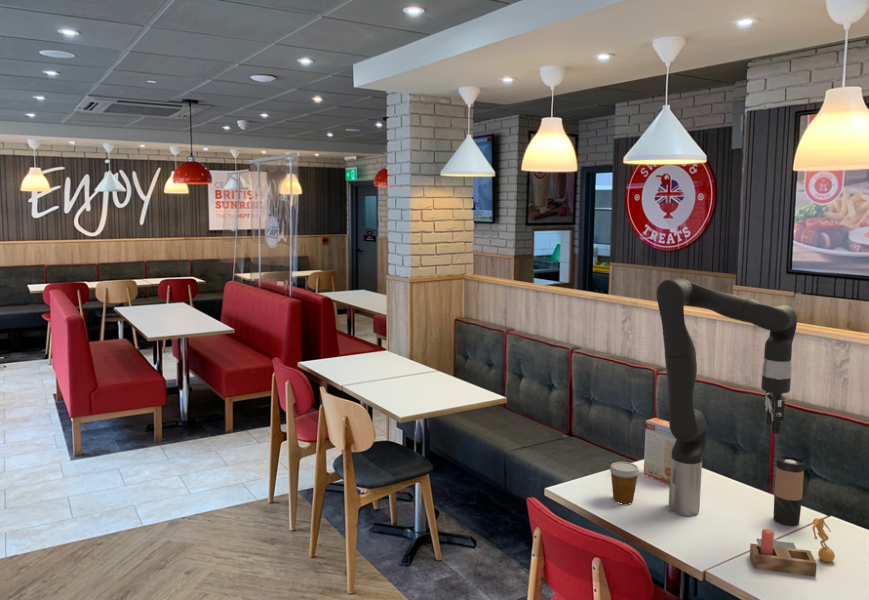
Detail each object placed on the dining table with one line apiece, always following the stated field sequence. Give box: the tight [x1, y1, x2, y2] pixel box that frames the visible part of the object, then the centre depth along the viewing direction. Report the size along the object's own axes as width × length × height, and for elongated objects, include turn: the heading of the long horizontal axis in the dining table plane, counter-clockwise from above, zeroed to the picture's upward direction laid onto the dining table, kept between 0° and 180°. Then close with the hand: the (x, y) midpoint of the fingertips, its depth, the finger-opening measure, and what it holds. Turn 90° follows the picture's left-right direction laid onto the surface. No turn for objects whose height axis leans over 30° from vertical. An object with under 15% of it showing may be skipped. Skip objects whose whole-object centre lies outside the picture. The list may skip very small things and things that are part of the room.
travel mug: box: [773, 455, 805, 527], centre depth 212 cm, size 8×8×20 cm
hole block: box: [749, 543, 818, 578], centre depth 186 cm, size 15×7×4 cm, turn 74°
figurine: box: [812, 517, 836, 563], centre depth 190 cm, size 8×6×12 cm
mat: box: [756, 538, 797, 549], centre depth 197 cm, size 10×8×1 cm
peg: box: [760, 528, 775, 556], centre depth 187 cm, size 3×3×10 cm
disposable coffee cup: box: [609, 461, 640, 505], centre depth 228 cm, size 10×10×12 cm
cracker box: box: [643, 417, 676, 485], centre depth 245 cm, size 14×6×21 cm, turn 34°
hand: (772, 428), depth 200 cm, fingers open, 8 cm apart
